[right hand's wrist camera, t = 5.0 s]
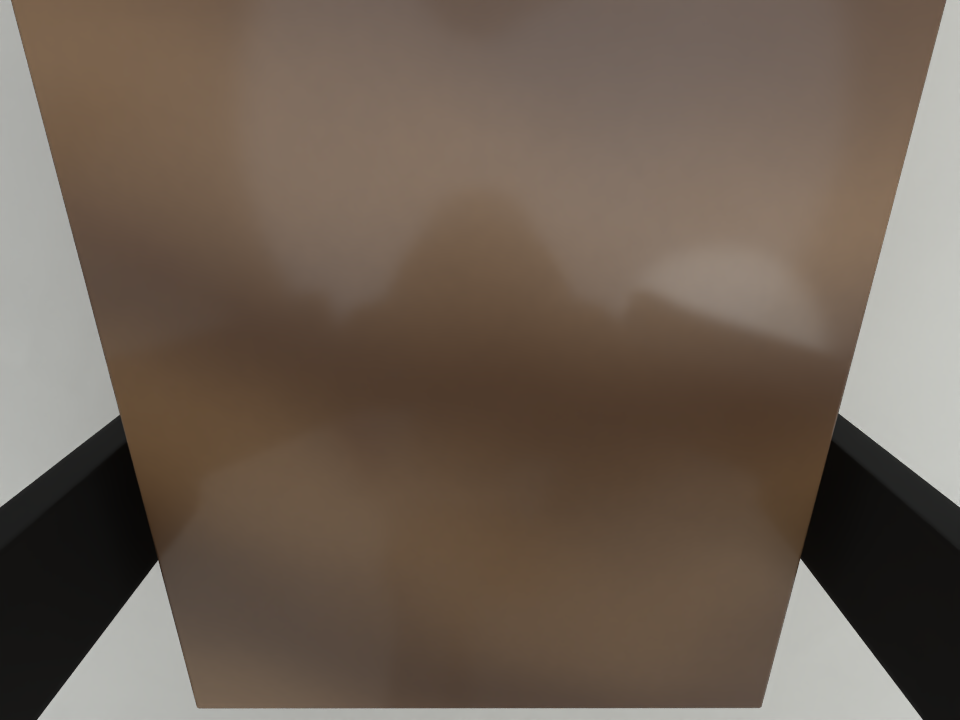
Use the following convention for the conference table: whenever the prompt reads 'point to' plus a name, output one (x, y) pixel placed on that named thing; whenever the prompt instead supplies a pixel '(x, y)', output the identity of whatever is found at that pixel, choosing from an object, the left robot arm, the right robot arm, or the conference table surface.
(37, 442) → the conference table surface
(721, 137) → the wooden grain block
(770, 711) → the conference table surface
